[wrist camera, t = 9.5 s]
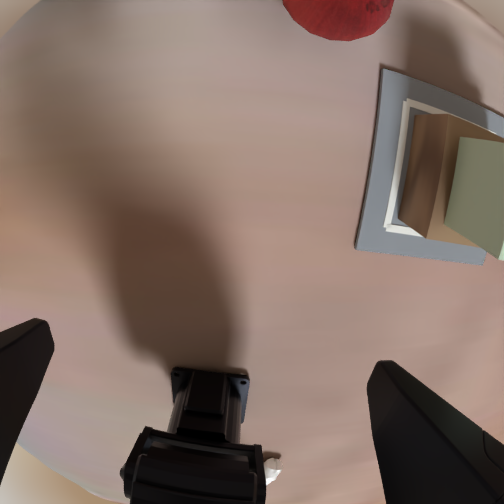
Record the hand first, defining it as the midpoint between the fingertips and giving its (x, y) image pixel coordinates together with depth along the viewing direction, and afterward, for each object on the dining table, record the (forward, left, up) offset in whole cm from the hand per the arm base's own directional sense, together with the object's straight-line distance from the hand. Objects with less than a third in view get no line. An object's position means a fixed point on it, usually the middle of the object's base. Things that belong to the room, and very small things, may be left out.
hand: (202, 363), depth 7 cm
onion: (+14, -4, -13) cm, 20 cm away
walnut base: (+5, -14, -13) cm, 19 cm away
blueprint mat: (+5, -14, -13) cm, 20 cm away
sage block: (+5, -14, -9) cm, 17 cm away
